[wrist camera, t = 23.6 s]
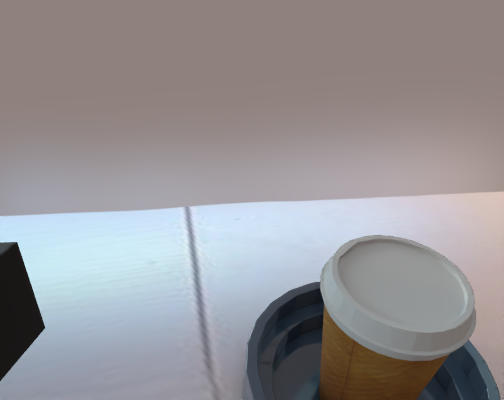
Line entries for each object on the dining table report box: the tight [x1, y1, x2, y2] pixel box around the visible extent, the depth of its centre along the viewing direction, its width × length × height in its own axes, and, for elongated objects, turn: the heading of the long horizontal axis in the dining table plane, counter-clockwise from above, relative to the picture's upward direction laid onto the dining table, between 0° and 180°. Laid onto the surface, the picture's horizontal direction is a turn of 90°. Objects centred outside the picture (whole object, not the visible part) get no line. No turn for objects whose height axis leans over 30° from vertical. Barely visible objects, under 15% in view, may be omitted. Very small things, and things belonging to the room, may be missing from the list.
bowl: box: [243, 282, 500, 400], centre depth 34 cm, size 18×18×4 cm
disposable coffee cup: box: [319, 235, 476, 400], centre depth 32 cm, size 10×10×12 cm
